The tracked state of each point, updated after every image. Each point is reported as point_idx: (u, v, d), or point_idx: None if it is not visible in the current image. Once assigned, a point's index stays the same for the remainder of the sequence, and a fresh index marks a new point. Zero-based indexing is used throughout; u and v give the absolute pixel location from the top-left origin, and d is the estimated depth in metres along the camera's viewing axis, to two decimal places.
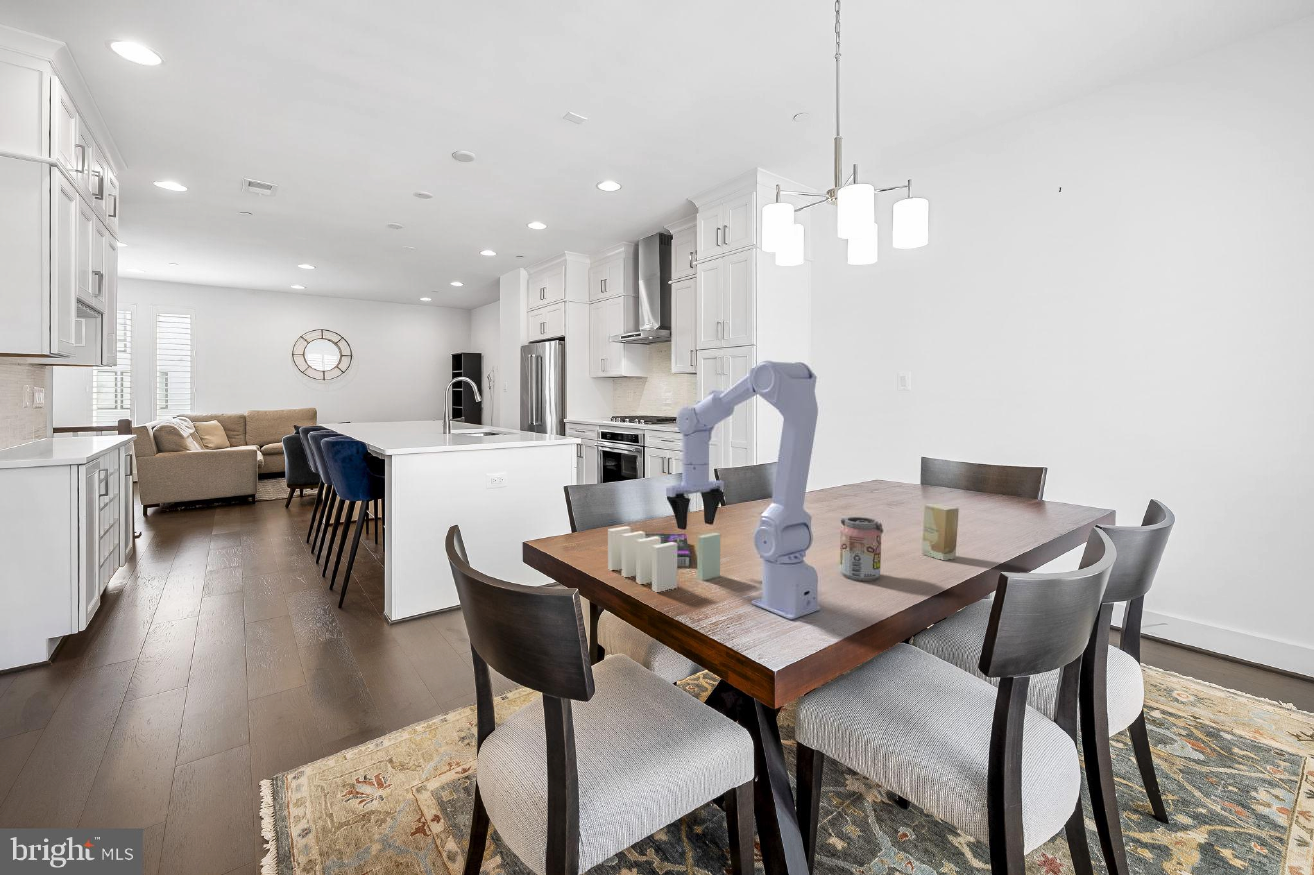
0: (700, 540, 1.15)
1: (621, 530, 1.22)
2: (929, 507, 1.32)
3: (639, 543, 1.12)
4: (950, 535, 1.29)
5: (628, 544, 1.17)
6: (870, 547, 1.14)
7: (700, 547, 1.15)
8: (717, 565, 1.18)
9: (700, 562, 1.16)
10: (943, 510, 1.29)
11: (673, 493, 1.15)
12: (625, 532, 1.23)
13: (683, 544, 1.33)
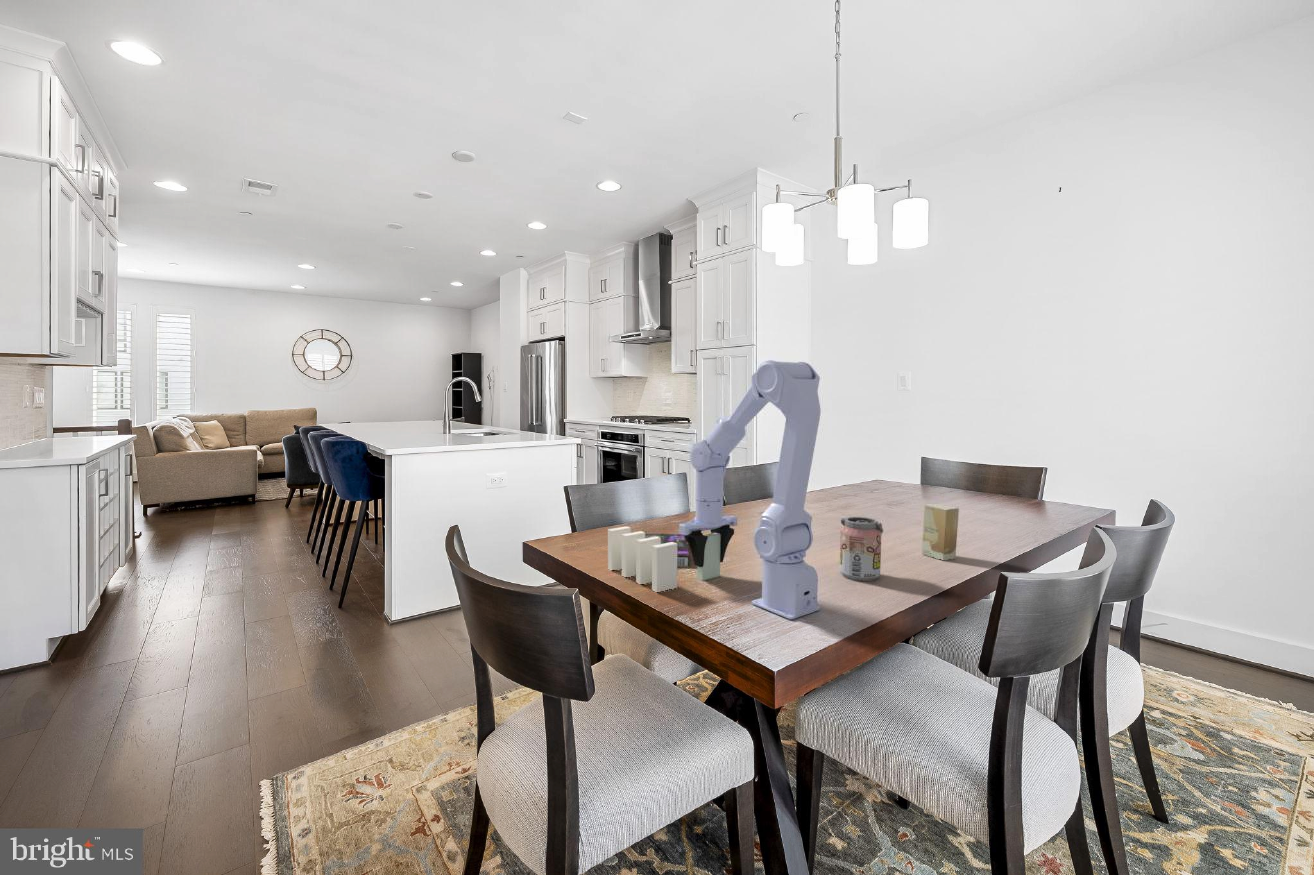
0: None
1: (621, 530, 1.22)
2: (929, 507, 1.32)
3: (639, 543, 1.12)
4: (950, 535, 1.29)
5: (628, 544, 1.17)
6: (870, 547, 1.14)
7: None
8: (717, 565, 1.18)
9: None
10: (943, 510, 1.29)
11: (686, 531, 1.12)
12: (625, 532, 1.23)
13: (682, 545, 1.33)
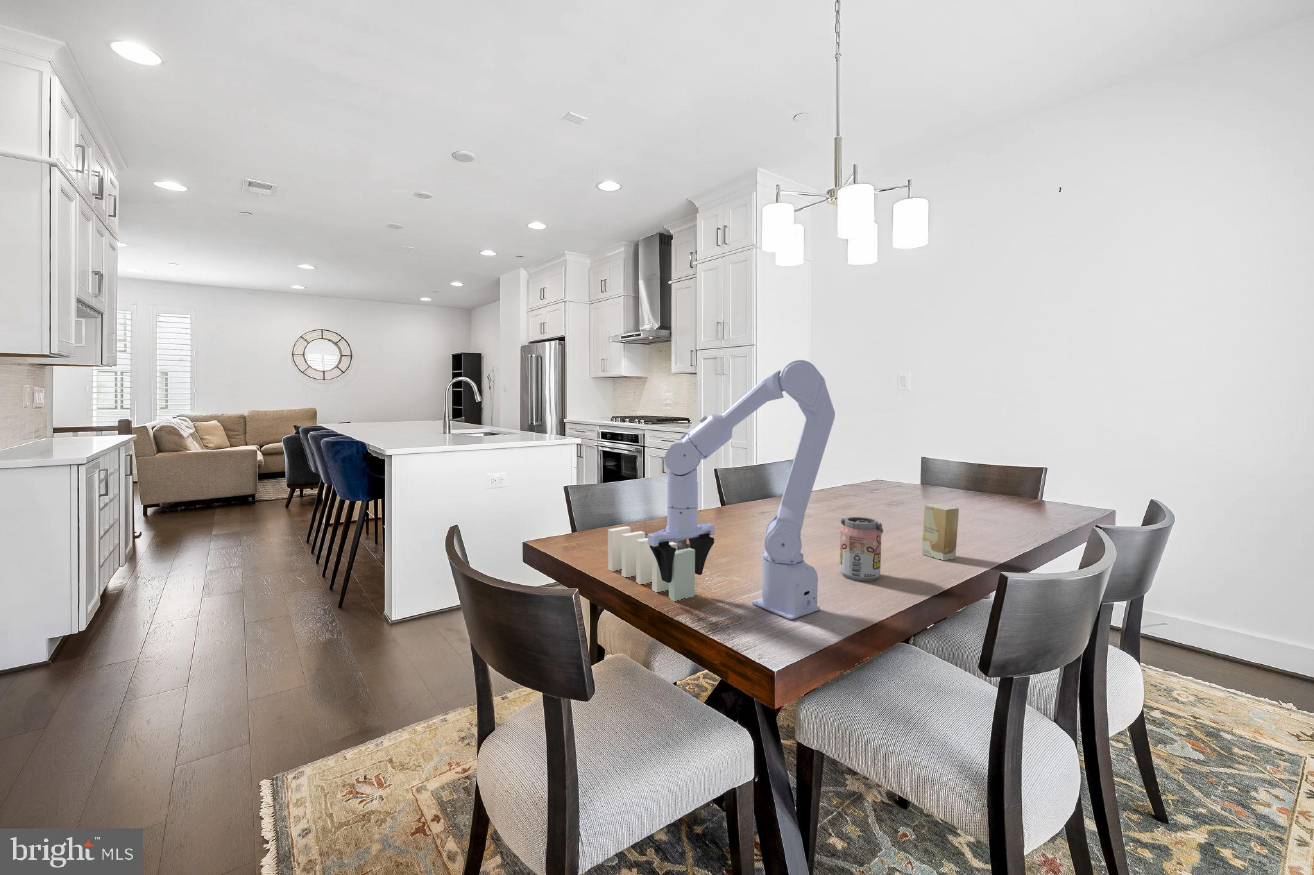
0: None
1: (621, 530, 1.22)
2: (929, 507, 1.32)
3: (639, 543, 1.12)
4: (950, 535, 1.29)
5: (628, 544, 1.17)
6: (870, 547, 1.14)
7: None
8: (691, 584, 1.06)
9: (672, 581, 1.04)
10: (943, 510, 1.29)
11: (656, 542, 1.00)
12: (625, 532, 1.23)
13: (681, 545, 1.33)
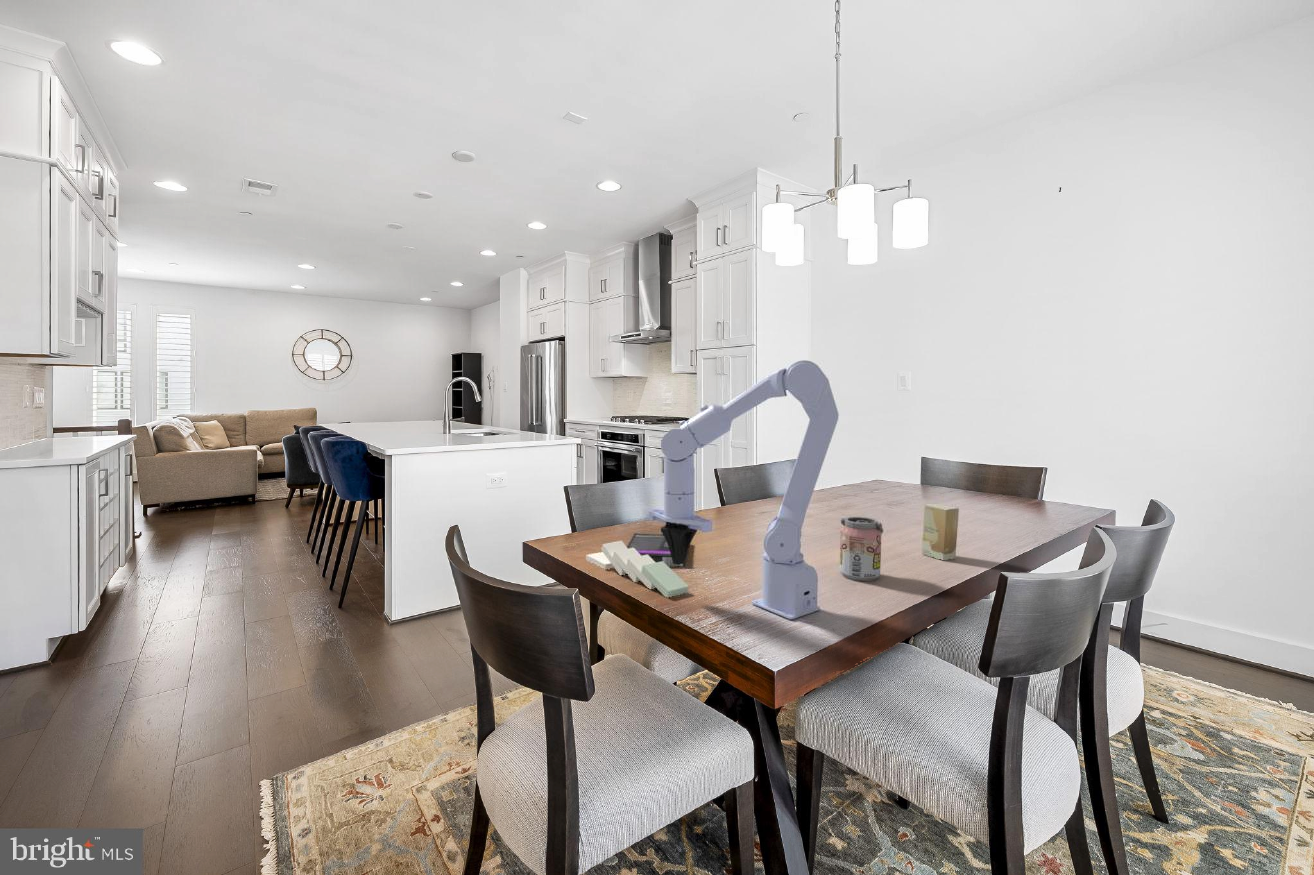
0: (643, 570, 1.11)
1: (596, 553, 1.31)
2: (929, 507, 1.32)
3: (615, 553, 1.20)
4: (950, 535, 1.29)
5: (609, 549, 1.23)
6: (870, 547, 1.14)
7: (647, 574, 1.10)
8: (678, 579, 1.09)
9: (656, 582, 1.08)
10: (943, 510, 1.29)
11: (650, 516, 1.10)
12: (601, 553, 1.31)
13: None
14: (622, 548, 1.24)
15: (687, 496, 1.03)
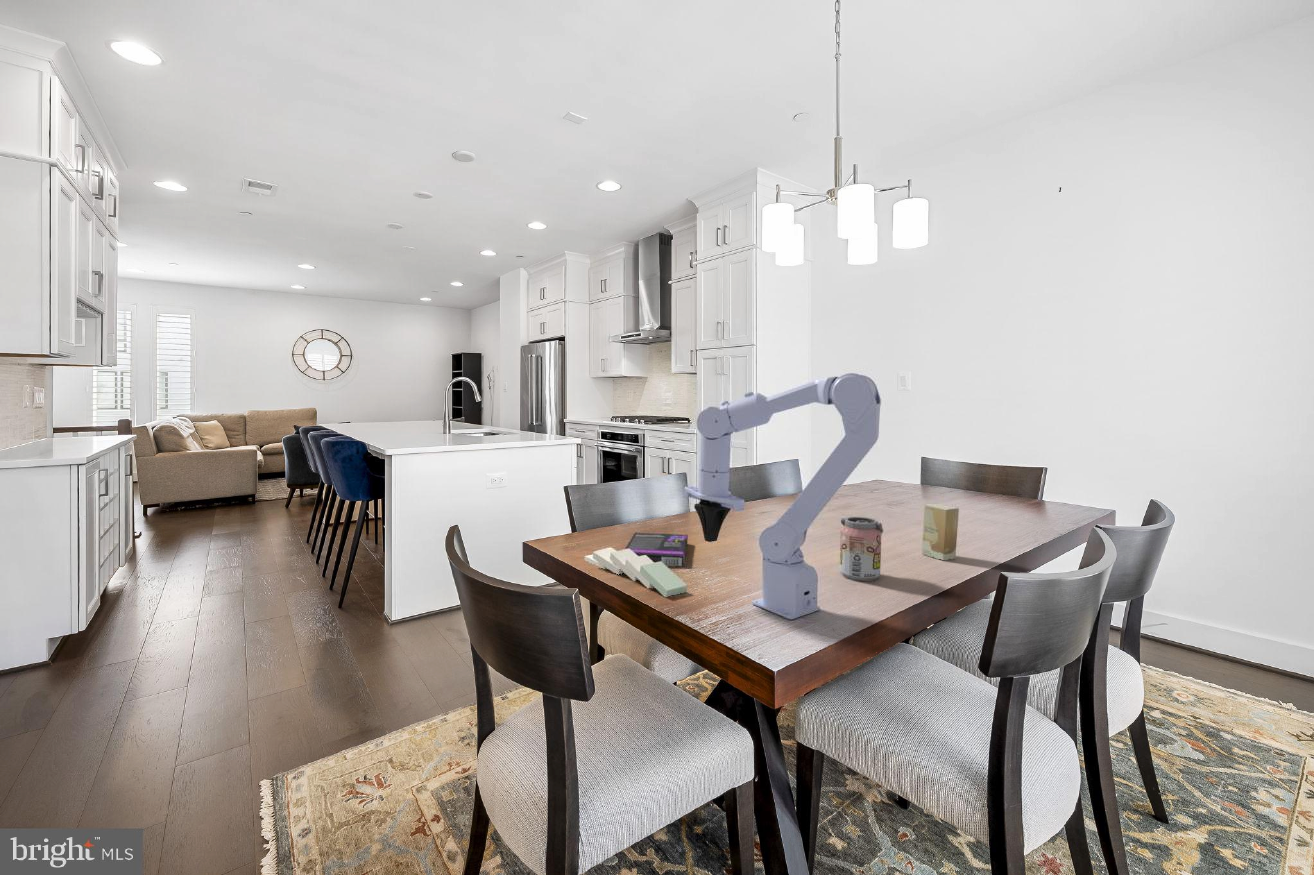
0: (642, 570, 1.12)
1: None
2: (929, 507, 1.32)
3: (611, 555, 1.20)
4: (950, 535, 1.29)
5: (601, 554, 1.24)
6: (870, 547, 1.14)
7: (646, 574, 1.10)
8: (676, 579, 1.09)
9: (655, 582, 1.08)
10: (943, 510, 1.29)
11: (685, 493, 1.11)
12: None
13: (680, 545, 1.33)
14: None
15: (721, 474, 1.03)
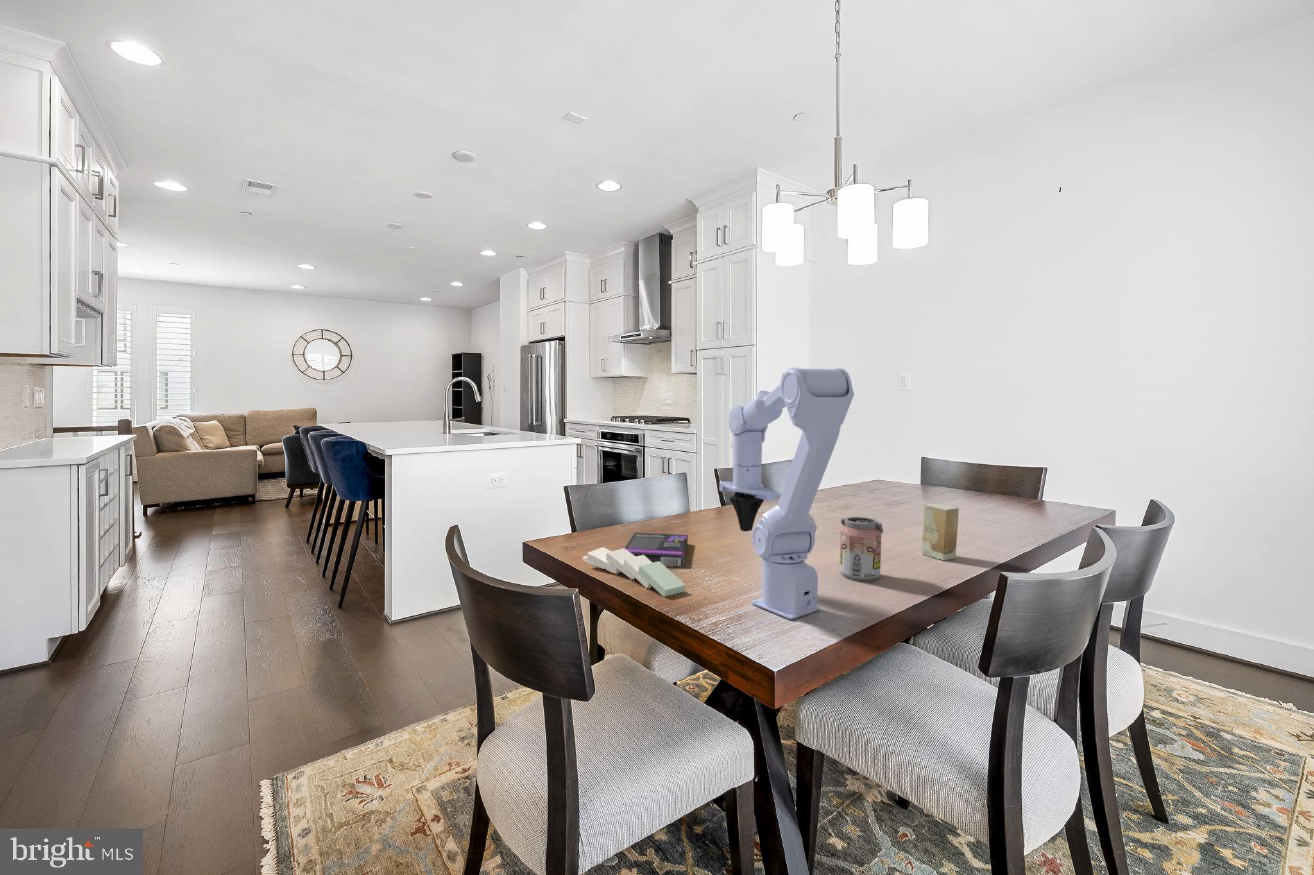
0: (640, 570, 1.12)
1: None
2: (929, 507, 1.32)
3: (608, 555, 1.21)
4: (950, 535, 1.29)
5: (596, 555, 1.24)
6: (870, 547, 1.14)
7: (644, 573, 1.11)
8: (675, 579, 1.10)
9: (654, 582, 1.08)
10: (943, 510, 1.29)
11: (720, 487, 1.19)
12: None
13: (679, 545, 1.33)
14: (607, 552, 1.26)
15: (754, 468, 1.11)
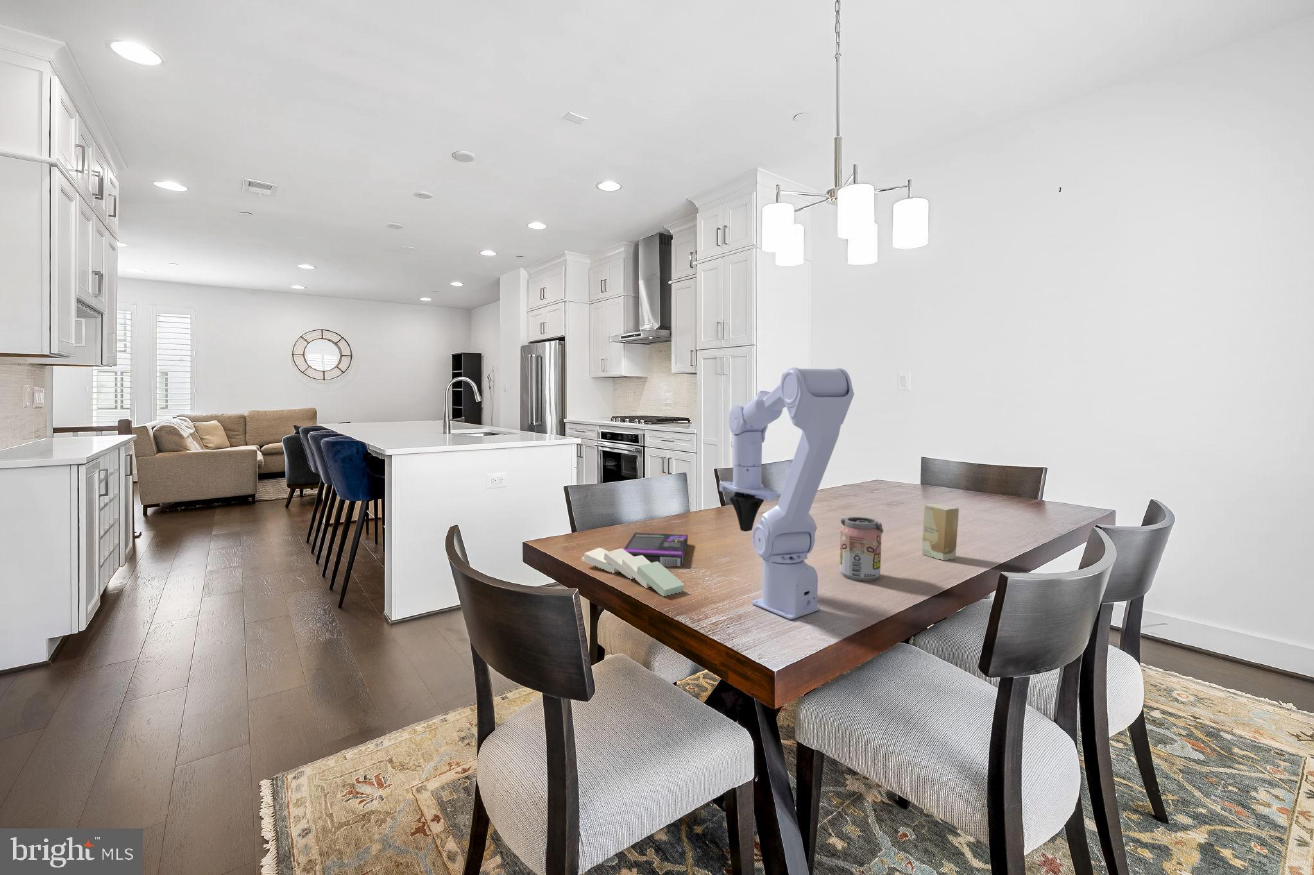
0: (639, 570, 1.12)
1: None
2: (929, 507, 1.32)
3: (605, 555, 1.21)
4: (950, 535, 1.29)
5: (593, 555, 1.24)
6: (870, 547, 1.14)
7: (643, 574, 1.11)
8: (673, 578, 1.10)
9: (652, 582, 1.08)
10: (943, 510, 1.29)
11: (720, 487, 1.19)
12: None
13: (679, 545, 1.33)
14: (604, 552, 1.26)
15: (754, 468, 1.11)
